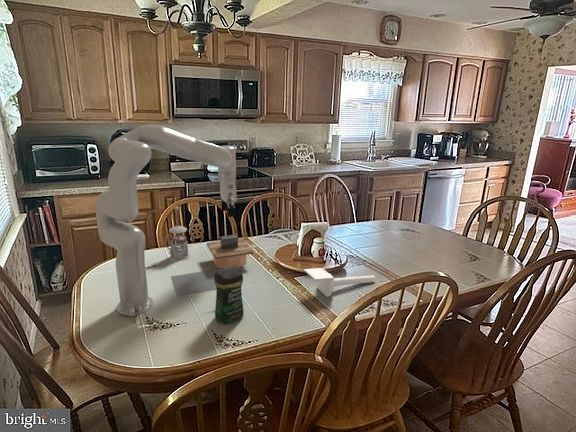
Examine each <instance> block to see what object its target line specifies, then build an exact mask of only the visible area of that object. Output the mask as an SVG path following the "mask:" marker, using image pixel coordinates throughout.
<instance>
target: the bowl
mask: <svg viewBox="0 0 576 432" xmlns="http://www.w3.org/2000/svg"><path fill="white" fill-rule="evenodd" d="M212 258H213V259H212V260H213V264H214V266H215V267H216V268H218V269H219V268H220V269H226V268H230V267H235V266H237V267H238V268H242V266H243V265H247V255H241V256H234V257H228V258H221V259H215V258H214V256H213V255H212Z"/></svg>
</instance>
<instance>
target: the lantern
mask: <svg viewBox="0 0 576 432" xmlns="http://www.w3.org/2000/svg"><path fill="white" fill-rule="evenodd" d="M174 210H176V212H178V210H180V209H179V206H174ZM176 221H177V222H176V223H177V226H173V227H171V228H170V229H169V230H168V231H169V233H168V234H166V235H165V236H164V239H163V244H164V247H166V249H168V250H170V255H169V260H170V261H173V262H181V261H182V262H183V261H187V260H189V259H191V257H192V256H191V254H190V253H189V245H188V243H189V242H188V239H187V236H185V235H180V234H182V233H186V232H187V231H188V228H187V227H185V226H182V225H179V221H178V218H176ZM171 234H176V235H171ZM168 237H170V243H169V244H170V247H168V246H167V244H166V243H167V239H168Z"/></svg>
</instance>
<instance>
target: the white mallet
mask: <svg viewBox="0 0 576 432" xmlns="http://www.w3.org/2000/svg"><path fill="white" fill-rule="evenodd" d="M303 271H304V272H305V273H306V274H307V275H308V276H309V277H311V278H312V279H313V280H314V281H317V283H316V286H317V289H318V290H319V291H320V292H321V293H322V294H323V295H324V296H325V297H327V298H329V297H331V296H332V293H333V291H334V288H335V287H336V286H344V285H345V286H347V285H357V284H358V285H359V284H368V283H375V282H376V276H375V275H373V274H371V275H364V276H349V277H337V278H335V276H333V275H332V274H331V273H329V272H328V271H326V270H325V269H324V268H323V267H319V268H318V267H316V268H304V269H303Z"/></svg>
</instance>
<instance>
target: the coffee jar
mask: <svg viewBox="0 0 576 432" xmlns="http://www.w3.org/2000/svg"><path fill="white" fill-rule="evenodd" d="M214 272H215V277H214V282H215V285H216V290H215V291H216V293H215V294H216V295H215V308H214V309H215V310H214V316H215V317H214V318H215V319H216V320H217V321H218V322H219V323H221V324H225V325H226V324H229V323H233V322H236V321H238V320H241V319H242V318H243V317H244V314H245V313H244V312H245V311H244V304H243V294H242V285H243V283H244V276H243V270H242V269H241V267H239V268H238V267H237V266H235V267H230V268H226V269H224V268H221V269H219V270H216V271H214Z"/></svg>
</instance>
